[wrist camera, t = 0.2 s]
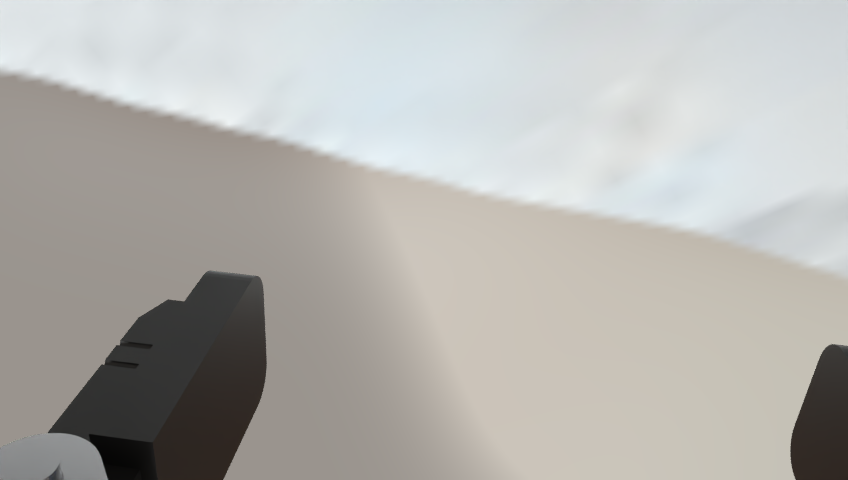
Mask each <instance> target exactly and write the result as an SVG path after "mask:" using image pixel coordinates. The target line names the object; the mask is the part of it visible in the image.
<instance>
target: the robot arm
mask: <svg viewBox="0 0 848 480" xmlns="http://www.w3.org/2000/svg"><path fill="white" fill-rule="evenodd" d="M266 364H267V363H266V338H265V316H264V294H263V285H262V281H261V279H260V277H258V276H251V275H243V274H235V273H226V272H217V271H208V272H206V273H205V274H204V275H203V277H202V278H201V279H200V281H199V282H198V283H197V285H196V286H195V288H194V289H193V290H192V292H191V293H190V294H189V296H188V297H187V299H186V300H185V301H184V302H183V301H175V300H167V301H165V302H163V303H162V304H160V305H159V306H157V307H155V308H154V309H152V310H150V311H149V312H147V313H146V314H144V315H142V316H141V317H139V318H138V319H137V320H136V322H135V323H134V324H133V326H132V327H131V328H130V329H129V330H128V332H127V333H126V334H125V336H124V337H123V338H122V339H121V341H120V346H119V345H117V346H116V347H115V348H114V349H113V351H112V352H111V353H110V355H109V356H108V357H107V358H106V360H105V365H101V366H100V367H99V368H98V370H97V371H96V372H95V374H94V375H93V376H92V377H91V379H90V380H89V381H88V382H87V384H86V385H85V386H84V387H83V389H82V390H81V391H80V392H79V394H78V395H77V396H76V398H75V399H74V400H73V401H72V403H71V404H70V405H69V406H68V408H67V409H66V410H65V411H64V413H63V414H62V415H61V416H60V418H59V419H58V420H57V422H56V423H55V424H54V425H53V427H52V428H51V429H50V430H49V432H48V433H46V434H38V435H33V436H29V437H25V438H22V439H19V440H16V441H13V442H11V443H9V444H7V445H4V446H2V447H1V448H0V480H223V479H224V477H225V475H226V473H227V470H228V468H229V466H230V464H231V462H232V460H233V458H234V456H235V453H236V451H237V449H238V447H239V445H240V443H241V441H242V438H243V436H244V434H245V432H246V430H247V428H248V426H249V423H250V421H251V419H252V417H253V415H254V413H255V411H256V409H257V407H258V404H259V402H260V399H261V396H262V392H263V388H264V383H265V377H266ZM791 464H792V469H793V473H794V476H795V479H796V480H848V346H843V345H835V344H834V345H833V344H832V345H829V346H828V347H826V348H825V350H824V351H823V352H822V354H821V356H820V359H819V361H818V364H817V366H816V369H815V372H814V375H813V377H812V380H811V383H810V386H809V388H808V391H807V394H806V396H805V399H804V402H803V404H802V407H801V410H800V413H799V415H798V418H797V421H796V423H795V427H794V430H793V433H792V439H791Z"/></svg>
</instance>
